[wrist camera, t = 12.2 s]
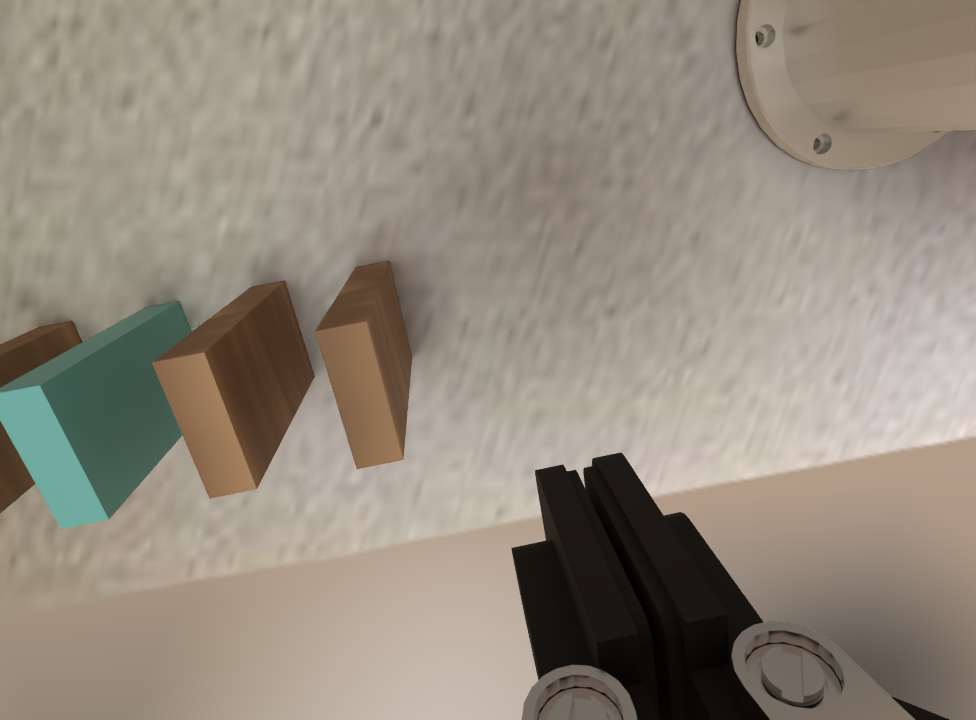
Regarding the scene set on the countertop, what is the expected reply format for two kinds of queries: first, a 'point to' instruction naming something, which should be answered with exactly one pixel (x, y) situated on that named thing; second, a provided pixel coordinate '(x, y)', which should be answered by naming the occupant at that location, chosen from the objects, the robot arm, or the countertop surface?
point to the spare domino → (96, 416)
